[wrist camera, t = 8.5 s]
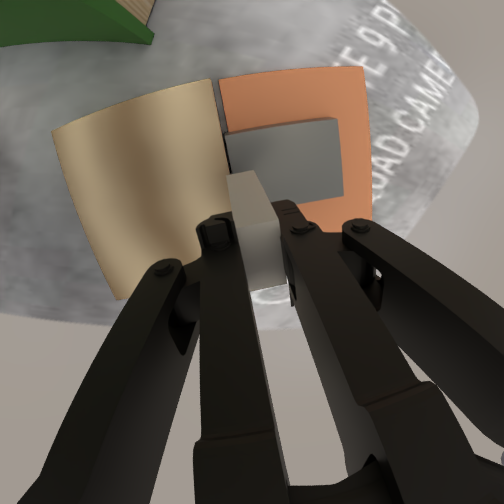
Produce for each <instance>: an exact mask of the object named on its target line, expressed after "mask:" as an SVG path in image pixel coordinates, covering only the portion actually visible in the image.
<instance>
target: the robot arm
mask: <svg viewBox="0 0 504 504" xmlns="http://www.w3.org/2000/svg"><path fill="white" fill-rule="evenodd" d="M226 178H227V184H228V190H229V196H230V203H231V209H232V211H230V212H225V213H220V214H215V215H211V216H210V217H209V218H208V219H206V220H204V221H202V222H201V223H199V224H198V225H197V227H196V233H197V236H198V240H199V243H200V247H201V257H200V258H198V259H196V260H195V261H193V262H191V263H188V264H186V265H182V263H181V261H180V260H178V259H176V258H168V259H162V260H159V261H157V262H156V263H154V264H153V265H151V266H150V267H149V268H148V269H147V271H146V272H145V274H144V275H143V277H142V278H141V280H140V282H139V283H138V285H137V286H136V288H135V290H134V291H133V293H132V295H131V296H130V298H129V299H128V301H127V303H126V304H125V306H124V308H123V309H122V311H121V313H120V314H119V316H118V318H117V320H116V321H115V323H114V325H113V326H112V328H111V330H110V332H109V333H108V335H107V337H106V339H105V341H104V342H103V344H102V346H101V348H100V349H99V352H98V353H97V355H96V357H95V359H94V360H93V362H92V364H91V366H90V368H89V370H88V372H87V374H86V376H85V378H84V379H83V381H82V383H81V385H80V388H79V389H78V391H77V393H76V395H75V397H74V399H73V401H72V403H71V405H70V407H69V409H68V412H67V414H66V416H65V418H64V420H63V422H62V424H61V427H60V429H59V431H58V433H57V435H56V438H55V440H54V443H53V444H52V447H51V449H50V451H49V454H48V456H47V459H46V461H45V463H44V466H43V468H42V471H41V473H40V476H39V477H38V478H37V480H36V481H35V482H34V483H33V484H32V486H31V487H30V488H29V489H28V490H27V492H26V493H25V494H24V495H23V497H22V498H21V499H20V500H19V501H18V503H17V504H149V503H150V500H151V496H152V492H153V489H154V485H155V481H156V478H157V474H158V470H159V467H160V463H161V459H162V456H163V452H164V449H165V446H166V442H167V439H168V435H169V432H170V428H171V425H172V422H173V418H174V415H175V412H176V408H177V404H178V402H179V398H180V395H181V392H182V388H183V385H184V382H185V378H186V375H187V372H188V369H189V365H190V362H191V359H192V356H193V352H194V349H195V346H196V343H197V340H198V337H199V334H200V405H201V438H200V440H198V441H197V442H195V445H194V449H193V474H194V491H195V504H504V452H503V454H502V457H501V461H502V464H503V465H500V464H498V463H495V462H493V461H490V460H488V459H485V458H483V457H481V456H478V455H476V454H474V452H473V450H472V448H471V446H470V444H469V442H468V440H467V438H466V436H465V434H464V432H463V430H462V428H461V426H460V424H459V422H458V421H457V419H456V417H455V415H454V413H453V411H452V410H451V408H450V406H449V404H448V402H447V401H446V399H445V397H444V395H443V393H442V392H441V391H440V389H441V390H442V391H443V392H444V393H445V394H446V395H447V396H448V398H449V399H451V401H452V402H453V403H454V404H455V405H456V406H457V407H458V408H459V409H460V410H461V411H462V412H463V413H464V414H465V416H466V417H467V418H468V419H469V420H470V421H471V422H472V423H473V424H474V425H475V426H476V427H477V428H478V429H479V430H480V431H481V432H482V433H483V434H484V435H485V436H487V437H488V438H489V439H491V440H492V441H493V442H495V443H496V444H498V445H500V446H501V447H503V448H504V308H502V307H501V306H500V305H499V304H497V303H496V302H495V301H493V300H492V299H491V298H489V297H488V296H487V295H485V294H484V293H482V292H481V291H480V290H478V289H477V288H476V287H474V286H473V285H471V284H470V283H468V282H467V281H466V280H464V279H463V278H462V277H460V276H459V275H457V274H456V273H454V272H453V271H451V270H450V269H448V268H447V267H446V266H444V265H443V264H441V263H440V262H438V261H437V260H435V259H433V258H432V257H430V256H429V255H427V254H426V253H424V252H423V251H421V250H420V249H418V248H416V247H415V246H413V245H412V244H410V243H408V242H407V241H405V240H404V239H402V238H400V237H399V236H397V235H395V234H394V233H392V232H390V231H389V230H387V229H385V228H384V227H382V226H380V225H379V224H377V223H375V222H373V221H371V220H368V219H363V218H359V219H358V218H354V219H351V220H348V221H346V222H344V223H343V225H342V232H323V231H322V230H321V228H320V227H319V226H318V225H317V224H316V223H314V222H311V221H307V220H306V218H305V217H304V215H303V214H302V212H301V211H300V209H299V208H298V207H297V205H296V204H295V202H293V201H290V200H288V199H285V200H280V201H275V202H270V201H269V199H268V197H267V195H266V193H265V191H264V189H263V187H262V185H261V183H260V181H259V179H258V177H257V176H256V174H255V172H254V170H251V171H246V172H241V173H236V174H231V175H226ZM376 269H377V270H378V271H379V272H380V273H381V274H382V276H381V278H380V277H379V276H377V275H376ZM286 276H287V278H288V282H289V291H290V300H291V307H292V306H294V305H295V308H296V311H297V314H298V316H299V319H300V322H301V325H302V328H303V331H304V333H305V336H306V339H307V342H308V345H309V348H310V351H311V353H312V356H313V359H314V362H315V365H316V368H317V371H318V374H319V377H320V380H321V383H322V386H323V388H324V391H325V394H326V397H327V400H328V403H329V406H330V409H331V412H332V415H333V418H334V421H335V424H336V427H337V430H338V434H339V436H340V440H341V443H342V446H343V449H344V455H345V464H346V470H347V473H348V477H347V478H346V479H344V480H342V481H340V482H339V483H336V484H332V485H316V486H315V485H314V486H290V482H289V478H288V474H287V470H286V466H285V461H284V456H283V451H282V447H281V442H280V437H279V432H278V428H277V423H276V419H275V413H274V409H273V404H272V399H271V394H270V389H269V385H268V380H267V375H266V370H265V365H264V360H263V355H262V350H261V346H260V340H259V335H258V331H257V326H256V321H255V316H254V311H253V306H252V301H251V296H250V291H255V290H260V289H265V288H269V287H274V286H279V285H283V284H287V279H286ZM398 346H399V347H400V348H401V349H402V350H403V351H404V352H405V353H406V354H407V355H408V356H409V357H410V358H411V359H412V360H413V361H414V362H415V363H416V364H417V365H418V366H419V367H420V368H421V369H422V370H423V371H424V372H425V374H426V375H427V376H428V377H429V378H430V379H431V380H432V381H433V382H434V383H435V384H434V383H432V382H431V381H424V382H421V381H419V380H418V379H417V377H416V376H415V375H414V373H413V371H412V369H411V368H410V366H409V364H408V362H407V361H406V359H405V357H404V355H403V354H402V352H401V350H400V349H399V347H398ZM437 386H438V387H439V388H440V389H439V388H438V387H437Z"/></svg>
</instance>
